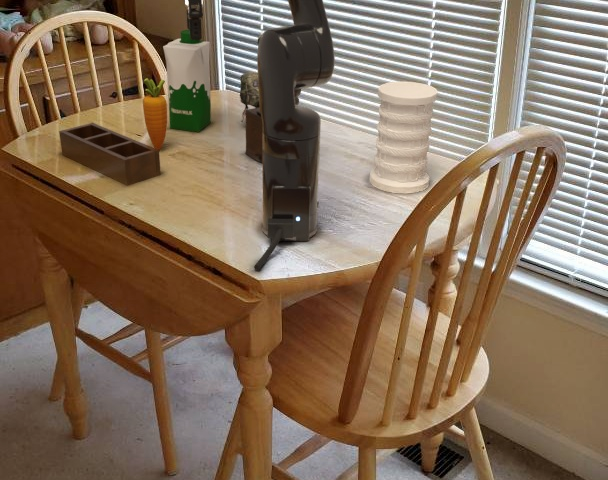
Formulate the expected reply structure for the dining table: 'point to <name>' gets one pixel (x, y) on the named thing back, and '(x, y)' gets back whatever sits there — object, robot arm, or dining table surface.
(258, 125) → the manual coffee grinder
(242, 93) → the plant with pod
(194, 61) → the milk carton
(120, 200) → the dining table surface
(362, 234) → the dining table surface
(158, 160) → the rack
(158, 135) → the carrot
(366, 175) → the dining table surface
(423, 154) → the decorative container
